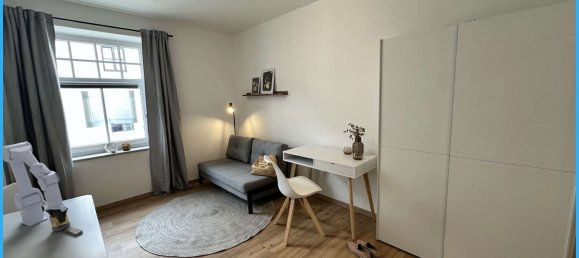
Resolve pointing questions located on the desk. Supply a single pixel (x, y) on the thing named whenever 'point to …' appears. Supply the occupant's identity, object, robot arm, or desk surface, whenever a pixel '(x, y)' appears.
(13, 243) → the desk surface
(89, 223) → the desk surface
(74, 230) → the ratchet
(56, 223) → the brushed gold cube
